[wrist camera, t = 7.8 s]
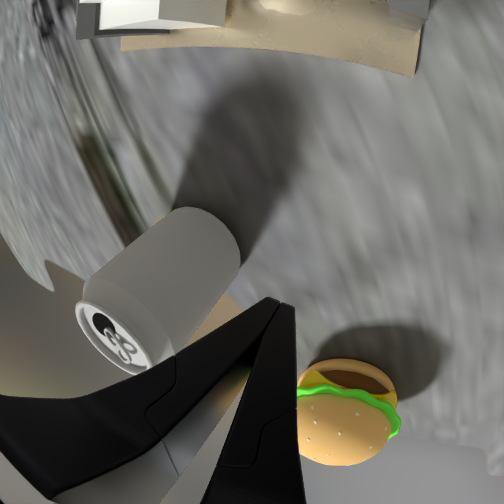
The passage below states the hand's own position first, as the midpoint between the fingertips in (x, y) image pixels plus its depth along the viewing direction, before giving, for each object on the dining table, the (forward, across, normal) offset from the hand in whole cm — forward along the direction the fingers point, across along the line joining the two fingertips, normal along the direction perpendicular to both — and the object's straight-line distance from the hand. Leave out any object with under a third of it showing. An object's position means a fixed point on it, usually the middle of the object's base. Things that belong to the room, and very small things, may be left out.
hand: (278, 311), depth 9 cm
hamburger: (+13, -7, +20) cm, 25 cm away
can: (+13, +9, +9) cm, 18 cm away
